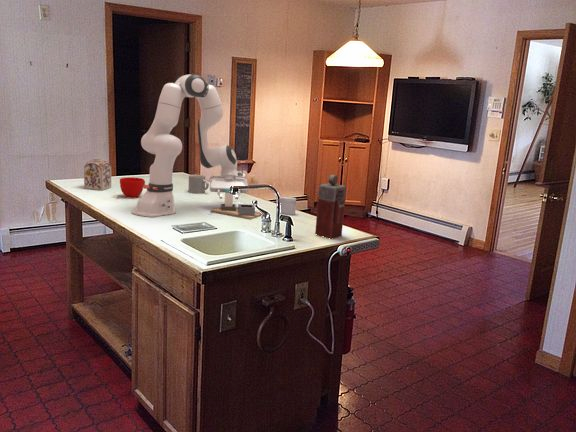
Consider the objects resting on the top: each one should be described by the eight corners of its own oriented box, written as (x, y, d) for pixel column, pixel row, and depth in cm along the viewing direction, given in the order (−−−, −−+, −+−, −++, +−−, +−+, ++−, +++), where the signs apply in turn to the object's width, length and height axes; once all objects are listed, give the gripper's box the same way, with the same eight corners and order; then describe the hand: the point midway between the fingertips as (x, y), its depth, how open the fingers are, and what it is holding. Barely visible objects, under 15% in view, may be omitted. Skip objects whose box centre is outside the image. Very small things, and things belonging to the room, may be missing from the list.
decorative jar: (102, 190, 306) (101, 160, 302) (83, 189, 307) (83, 158, 304) (112, 187, 317) (111, 158, 313) (94, 185, 319) (93, 156, 315)
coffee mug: (185, 191, 321) (185, 175, 318) (197, 190, 328) (197, 174, 326) (199, 195, 313) (200, 178, 310) (212, 193, 320) (212, 177, 318)
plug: (232, 210, 274) (233, 189, 272) (224, 209, 274) (225, 189, 271) (231, 208, 278) (232, 188, 276) (224, 208, 277) (225, 187, 275)
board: (250, 219, 261) (250, 217, 260) (210, 212, 271) (210, 210, 271) (263, 214, 273) (264, 212, 273) (225, 207, 283) (225, 206, 283)
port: (254, 215, 265) (255, 208, 264) (238, 215, 264) (239, 207, 263) (253, 212, 273) (253, 204, 272) (237, 211, 271) (238, 204, 271)
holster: (235, 211, 273) (235, 207, 272) (221, 210, 272) (221, 206, 271) (235, 207, 280) (235, 204, 279) (221, 207, 279) (221, 203, 278)
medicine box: (295, 214, 280) (296, 198, 278) (293, 215, 276) (294, 199, 274) (281, 212, 282) (282, 196, 280) (278, 213, 278) (279, 197, 276)
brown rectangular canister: (335, 240, 233) (340, 177, 227) (314, 234, 240) (319, 174, 234) (346, 236, 240) (351, 176, 234) (326, 231, 247) (331, 172, 241)
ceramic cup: (153, 195, 302) (153, 178, 299) (133, 200, 286) (133, 182, 284) (135, 192, 307) (135, 175, 304) (114, 196, 292) (114, 179, 289)
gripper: (209, 172, 277) (208, 194, 270) (248, 174, 280) (248, 195, 273) (209, 179, 282) (208, 200, 275) (247, 181, 285) (247, 202, 278)
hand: (228, 198), depth 274 cm, fingers open, 7 cm apart
